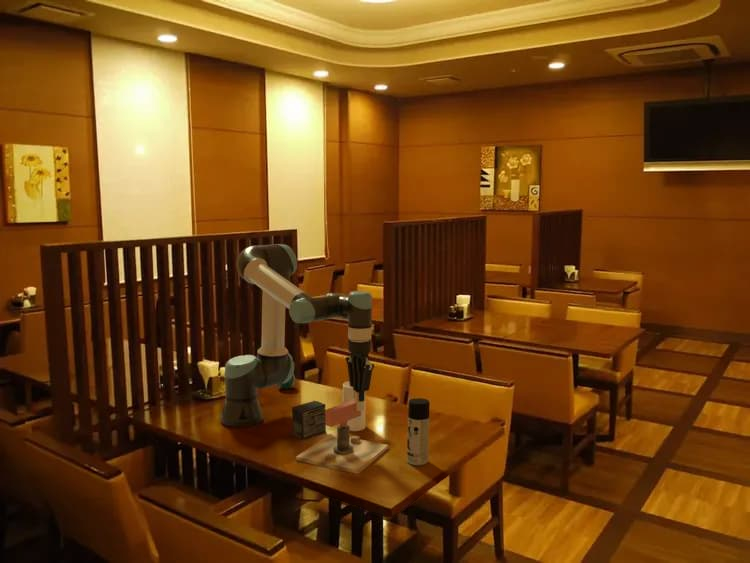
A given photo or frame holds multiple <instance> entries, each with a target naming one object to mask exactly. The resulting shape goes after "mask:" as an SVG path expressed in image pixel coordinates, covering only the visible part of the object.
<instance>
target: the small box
mask: <svg viewBox="0 0 750 563" xmlns="http://www.w3.org/2000/svg"><path fill="white" fill-rule="evenodd" d="M325 410H326V403H323V402H319V401H317V400H312V401H310V402H309V401H308V402H306V403H302V404H299V405H295V406H292V407H291V412H292V413H291V414H292V417H291V418H292V422H291V423H292V426H291V427H292V436H294V437H296V438H297V439H300V440H303V441H304V440H307V439H310V438H313V437H316V436H319V435H322V434H324V433H326V432H327V429H326V428H327V427H326V426H327V425H325Z"/></svg>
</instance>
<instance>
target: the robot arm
mask: <svg viewBox="0 0 750 563" xmlns="http://www.w3.org/2000/svg"><path fill="white" fill-rule="evenodd" d="M297 268H298V260H297V256H296V254H295V251H294V249H292V248H291V246H289V245H287V244H282V243H278V244H277V243H275V244H273V243H272V244H264V245H263V244H262V245H250V246H247V247H245V248H244V249H242V251H241V252H240V253H239V254H238V256H237V258H236V270H237V273H238V274H239V275H240V276H239V277H241V278H242V279H243V280H244V281H246V282H247V283H249V284H252V285H256V286H257V287H258V288H260V289H261V290H262V299H261V301H262V304H261V305H262V306H261V346H260V347H259V348H258V349H257V355H256V356H255V355H253V354H245V355H238V356H234V357H232V358H230V359H228V360H227V361H226V363H225V364H224V365H225V367H224V387H225V389H224V390H225V391H224V392H225V401H224V404H223V408H222V411H221V415H220V422H221V424H223V425H225V426H226V427H227V426H228V427H232V428H233V427H234V428H245V427H250V426H254V425H258V424H260V423H261V422H262V421H263V418H264V416H263V414H264V413H263V411H262V409H261V405H260V402H259V400H258V399H259V398H258V397H259V396H258V395H259V394H258V392H259V391H258V390H261V389H265V388H270V387H274V386H279V385H280V384H282V383H285V382H287V381H289V380H290V379H291V377H292V375H293V374H294V373H295V372H294V371H295V363H294V360H293V359H294V358H293V356H292V355H291V354H290V353H289V350H288V349H287V347H285V336H286V334H285V332H286V330H285V329H286V328H285V327H286V309H288V313H289V317H290V318H291V320H292V321H293V322H294V323H296V324H309V323H313V322H318V321H319V322H320V321H324V320H325V321H326V320H330V319H336V318H337V319H338V318H341V319H345V320H347V321H348V327H347V330H348V331H347V338H348V339H349V340H348V342H347V346H348V347H347V349H348V350H347V351H348V352H350V353H349V356H346V357H345V361H346V365H347V366H346V367H347V372H348V382H350V387H353V390H354V399H355V403H356V411H361V410H364V394H365V391H366V392H368V391H369V390H370V386H371V380H372V374H373V370H374V369H375V364H374V363H371V361H370V356H369V355H370V353H371V352H372V325H373V324H372V322H373V321H372V319H373V318H372V317H373V315H372V314H373V312H372V311H373V299H372V298H373V297H372V294H371V292H369V291H365V290H364V291H363V290H355V291H354V290H353V291H350V292H349V293H348V295H346V294H342V293H338V292H329V293H327V294H325V295H324V296H317V297H316V296H315V297H312V296H311V295H309V294H308V293H306V292H304V291H303V290H302V289H301V288H299V287H298V286H296V285H295V284H294V283H292V282H291V276H292V275H294V274H295V272H296V271H297Z"/></svg>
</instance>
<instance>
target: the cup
mask: <svg viewBox="0 0 750 563" xmlns="http://www.w3.org/2000/svg"><path fill="white" fill-rule="evenodd" d="M366 392H367V391H365V394H364V410H361V416H359V417H356V418H353V419H351V420H348V421H347V425H348V426H350V432H359V431H363V430H365V429H366V399H367V398H366V397H367V396H366ZM352 400H354V390H353V387H350V382H349V381H345V382H343V383H342V404H343V403H346V402H349V401H352Z"/></svg>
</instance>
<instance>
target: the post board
mask: <svg viewBox="0 0 750 563" xmlns="http://www.w3.org/2000/svg"><path fill="white" fill-rule="evenodd" d="M336 428H337V430H336V432H337V433H336V434H335V433H328V434H327V435H326V436H323V438H321V439H320V440H319V441H317V442H316V443H314V444H312V445H311V446H310V447H308V448H306V449H305V450H304V451H302V452H301V453H299V454H298V455H296V457H295V459H296V461H299V462H302V463H306V464H311V465H315V466H321V467H324V468H329V469H333V470H337V471H343V472H346V473H351V474H356V475H359V474H360V473H361V472H362V471H364V470H365V469H367V467H369V465H371V464H372V463H373V462H374V461H375V460H376V459H377V458H378V457H380V456H381V455H382V454H383V453H384V452H386V451H387V450H388V449H389V444H386V443H380V442H377V441H376V442H375V441H370V440H365V439H361V436H358V435H352V436H350V435H351V434H350V433H351V431H350V426H348V425H347V427H344V428H343V427H340V424H338V426H336Z"/></svg>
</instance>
